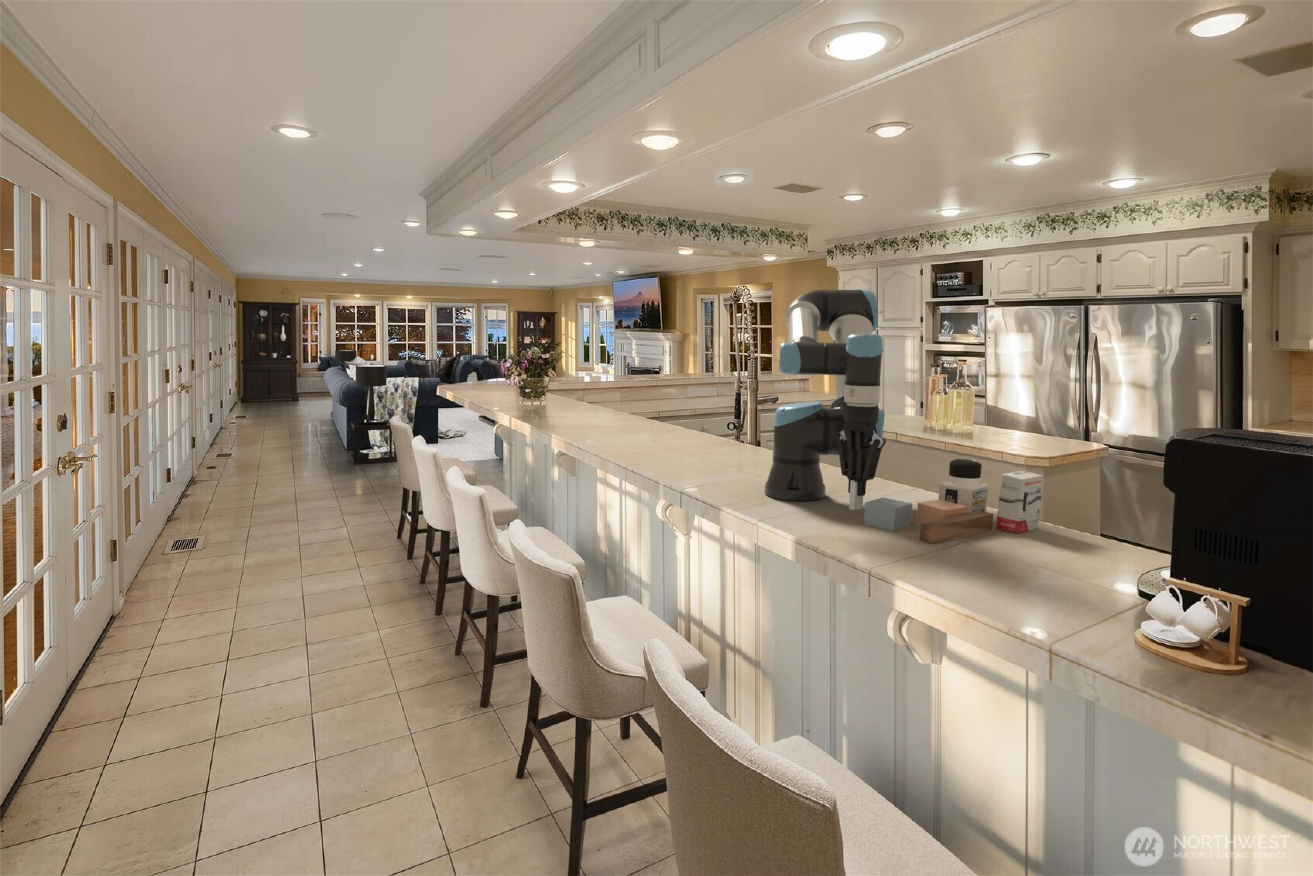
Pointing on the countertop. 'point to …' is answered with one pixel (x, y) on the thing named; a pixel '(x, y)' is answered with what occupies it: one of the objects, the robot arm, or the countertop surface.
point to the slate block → (887, 514)
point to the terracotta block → (938, 510)
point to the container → (965, 485)
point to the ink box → (1019, 501)
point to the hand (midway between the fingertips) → (855, 508)
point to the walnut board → (955, 526)
